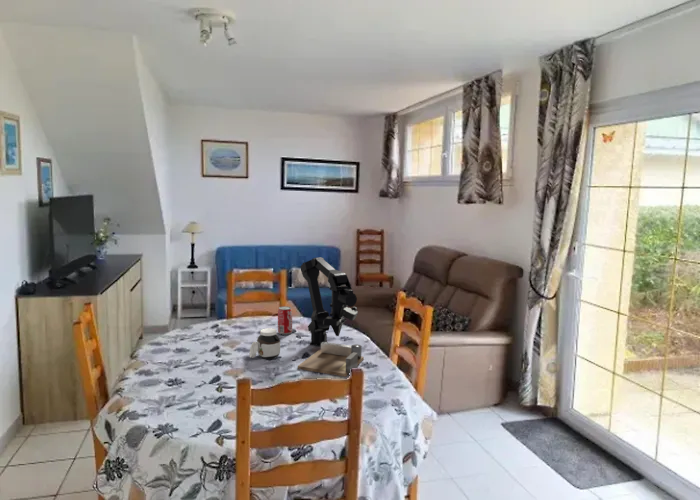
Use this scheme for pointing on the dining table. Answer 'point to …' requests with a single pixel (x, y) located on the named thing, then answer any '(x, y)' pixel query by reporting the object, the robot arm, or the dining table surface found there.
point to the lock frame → (331, 363)
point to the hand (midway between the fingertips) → (337, 336)
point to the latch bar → (341, 349)
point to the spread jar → (266, 345)
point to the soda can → (284, 320)
